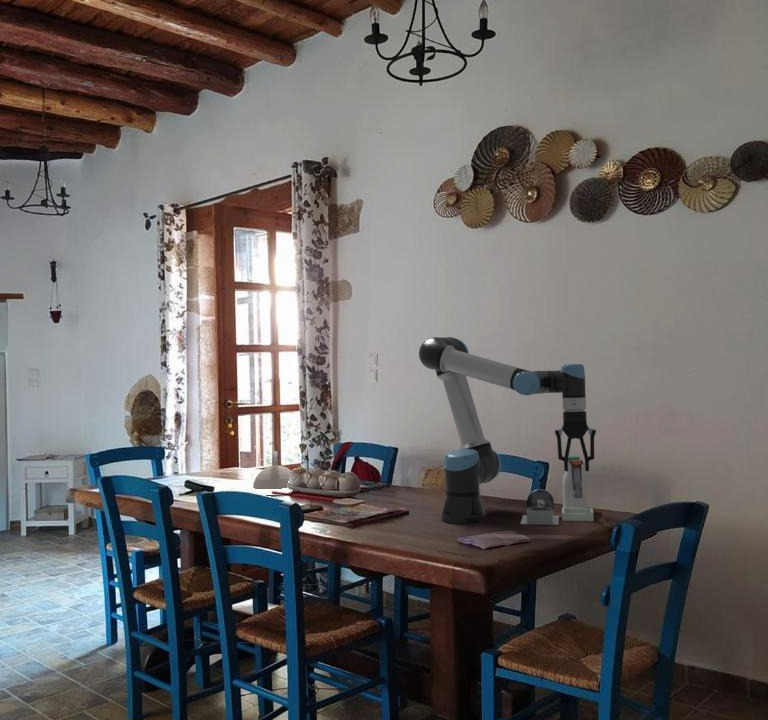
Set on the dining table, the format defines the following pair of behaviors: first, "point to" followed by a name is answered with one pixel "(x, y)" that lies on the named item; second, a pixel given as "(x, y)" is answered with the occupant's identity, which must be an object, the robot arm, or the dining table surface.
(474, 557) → the dining table surface
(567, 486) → the milk bottle
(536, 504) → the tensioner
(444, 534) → the dining table surface
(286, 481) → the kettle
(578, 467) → the pin
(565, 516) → the tray
